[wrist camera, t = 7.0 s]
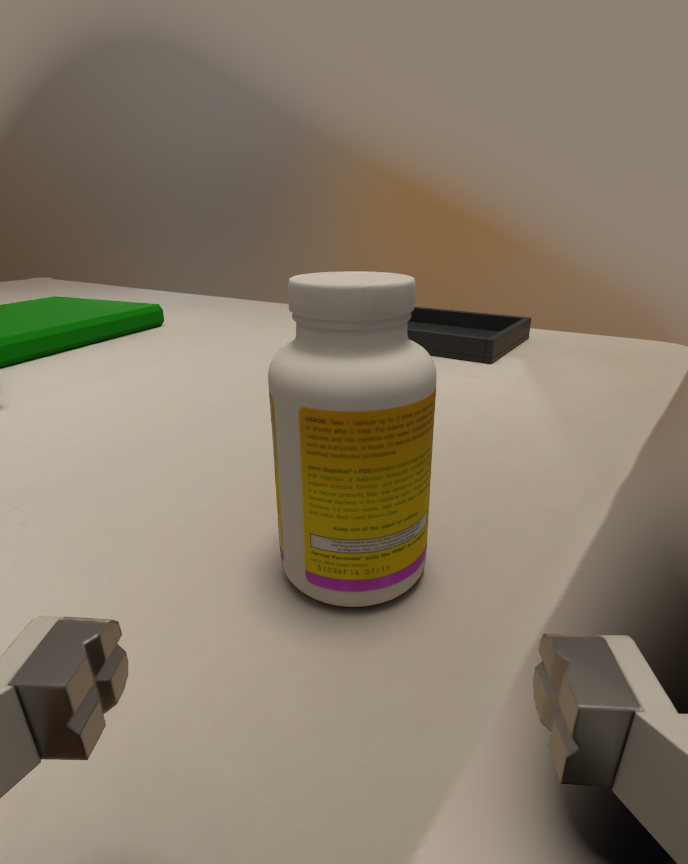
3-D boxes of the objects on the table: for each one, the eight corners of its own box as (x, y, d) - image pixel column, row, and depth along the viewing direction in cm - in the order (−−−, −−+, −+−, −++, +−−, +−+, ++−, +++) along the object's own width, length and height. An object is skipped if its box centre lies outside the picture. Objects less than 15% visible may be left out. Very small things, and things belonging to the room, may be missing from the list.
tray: (528, 337, 66) (531, 317, 65) (491, 364, 55) (493, 340, 54) (394, 322, 76) (394, 304, 75) (339, 342, 65) (339, 321, 64)
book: (-150, 355, 61) (-160, 330, 60) (58, 315, 84) (54, 296, 83) (-30, 376, 52) (-39, 347, 51) (164, 325, 76) (161, 304, 75)
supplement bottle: (456, 574, 23) (484, 278, 18) (334, 639, 20) (327, 296, 15) (365, 510, 28) (368, 265, 23) (256, 553, 25) (231, 275, 20)
